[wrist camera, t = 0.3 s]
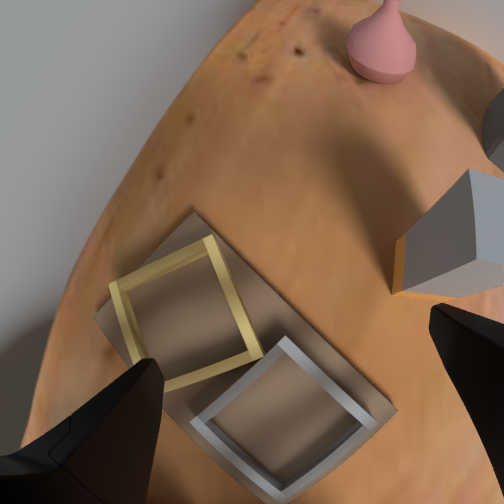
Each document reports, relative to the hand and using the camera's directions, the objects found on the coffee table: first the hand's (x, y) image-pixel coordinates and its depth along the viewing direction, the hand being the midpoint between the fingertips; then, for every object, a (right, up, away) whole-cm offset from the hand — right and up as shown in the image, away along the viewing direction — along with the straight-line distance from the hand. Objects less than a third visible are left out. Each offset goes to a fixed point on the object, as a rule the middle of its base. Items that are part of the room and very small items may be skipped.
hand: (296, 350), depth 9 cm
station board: (-3, -6, +14) cm, 15 cm away
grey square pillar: (+12, +1, +14) cm, 18 cm away
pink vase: (+13, +23, +19) cm, 33 cm away
